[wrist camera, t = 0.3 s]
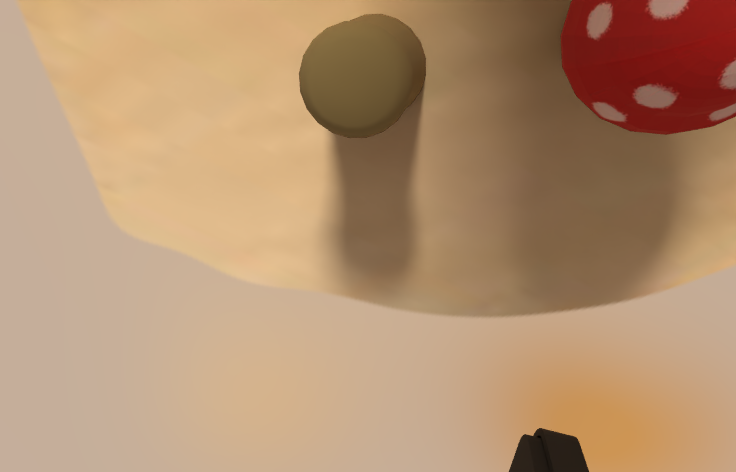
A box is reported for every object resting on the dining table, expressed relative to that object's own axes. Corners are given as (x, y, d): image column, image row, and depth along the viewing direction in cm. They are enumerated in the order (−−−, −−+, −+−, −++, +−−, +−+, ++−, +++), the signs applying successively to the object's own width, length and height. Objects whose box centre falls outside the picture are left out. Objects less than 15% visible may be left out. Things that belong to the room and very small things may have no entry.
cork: (444, 88, 38) (446, 112, 28) (355, 136, 40) (326, 176, 29) (395, -7, 37) (379, -19, 26) (306, 46, 38) (256, 54, 28)
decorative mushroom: (550, 128, 38) (615, 189, 24) (511, -19, 36) (559, -48, 22) (726, 73, 36) (910, 104, 22) (697, -86, 34) (881, -165, 20)
